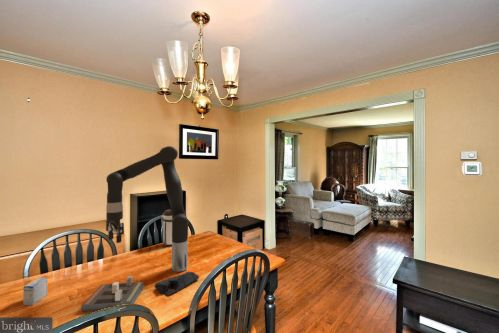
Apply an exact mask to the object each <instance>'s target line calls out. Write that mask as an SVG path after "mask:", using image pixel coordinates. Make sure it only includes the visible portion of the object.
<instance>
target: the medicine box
mask: <svg viewBox="0 0 499 333" xmlns="http://www.w3.org/2000/svg"><path fill="white" fill-rule="evenodd" d="M46 296H48V277H38V278H36V279H34V280H33V281H31V282H29V283H28V284H26V285H24V286H23V299H22V300H23V303H22V305H23V306H34V305H35V304H37V303H38V302H40V301H41V300H42V299H43V298H45V297H46Z"/></svg>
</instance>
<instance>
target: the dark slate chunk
mask: <svg viewBox="0 0 499 333" xmlns="http://www.w3.org/2000/svg"><path fill="white" fill-rule="evenodd" d="M199 279H200V276H199V275H198V274H196V273H195V272H193V271H186V272H185V273H182V274H178V275H174V276H172V277H168V278H166V279H163V280H160V281H158V282H156V283H155V285H154V288H155V289H156V291H157V292H159V293H160V294H161V295H164V296H168V297H169V296H172V295H173V294H175V293H177V292H179V291H181V290H183V289H184V288H186V287H188V286H189V285H191V284H194V283H195V281H197V280H199ZM171 289H172V290H171Z"/></svg>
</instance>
